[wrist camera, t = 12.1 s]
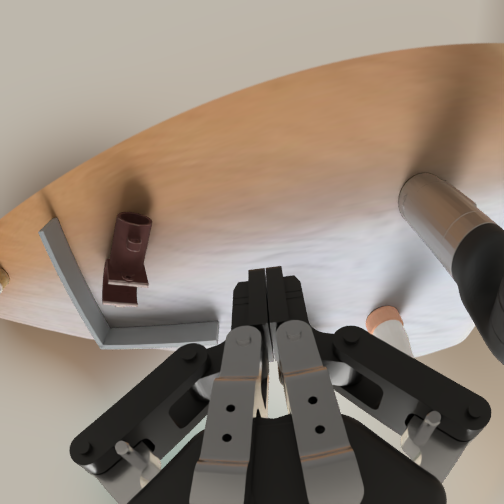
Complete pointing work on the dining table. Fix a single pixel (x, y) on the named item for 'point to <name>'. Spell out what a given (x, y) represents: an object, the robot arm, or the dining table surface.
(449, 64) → the dining table surface
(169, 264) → the dining table surface
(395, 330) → the pepper shaker
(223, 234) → the dining table surface
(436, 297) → the dining table surface
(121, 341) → the angled bar
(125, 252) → the bracket
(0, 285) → the sprinkles bottle
